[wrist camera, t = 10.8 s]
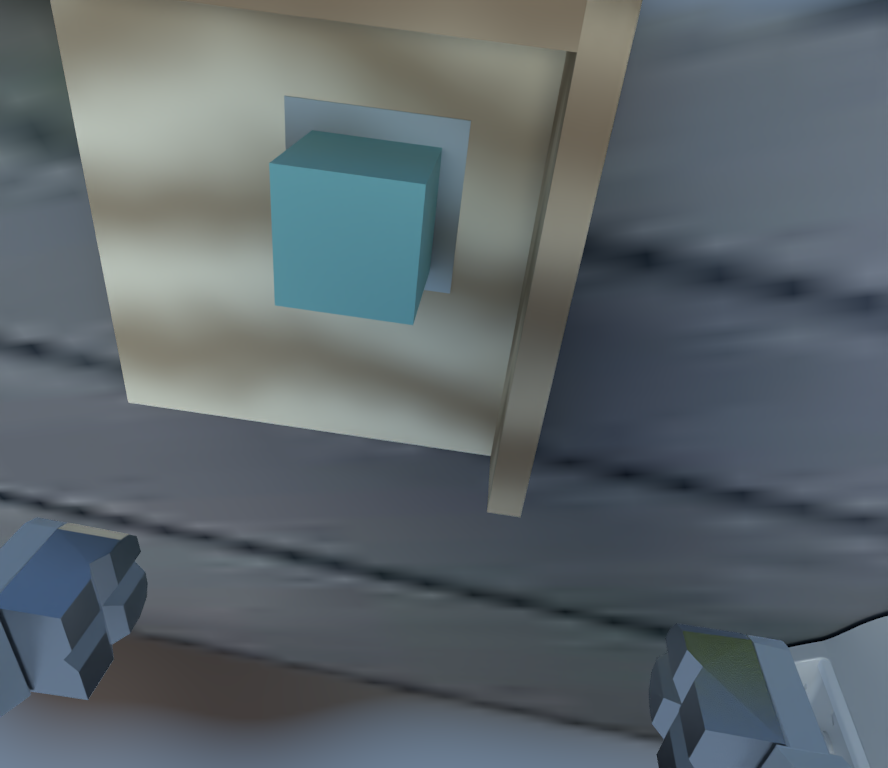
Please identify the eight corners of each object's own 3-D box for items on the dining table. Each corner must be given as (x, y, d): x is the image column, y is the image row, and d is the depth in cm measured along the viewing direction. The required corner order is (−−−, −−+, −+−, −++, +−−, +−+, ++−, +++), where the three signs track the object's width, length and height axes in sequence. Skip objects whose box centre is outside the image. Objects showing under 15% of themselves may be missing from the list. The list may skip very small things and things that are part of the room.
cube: (442, 147, 25) (426, 184, 20) (429, 270, 27) (413, 325, 23) (312, 130, 25) (269, 163, 20) (312, 254, 27) (274, 305, 23)
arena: (520, 448, 33) (520, 517, 29) (138, 391, 34) (83, 451, 29) (619, -7, 22) (642, -1, 18) (52, -79, 23) (-54, -90, 19)
